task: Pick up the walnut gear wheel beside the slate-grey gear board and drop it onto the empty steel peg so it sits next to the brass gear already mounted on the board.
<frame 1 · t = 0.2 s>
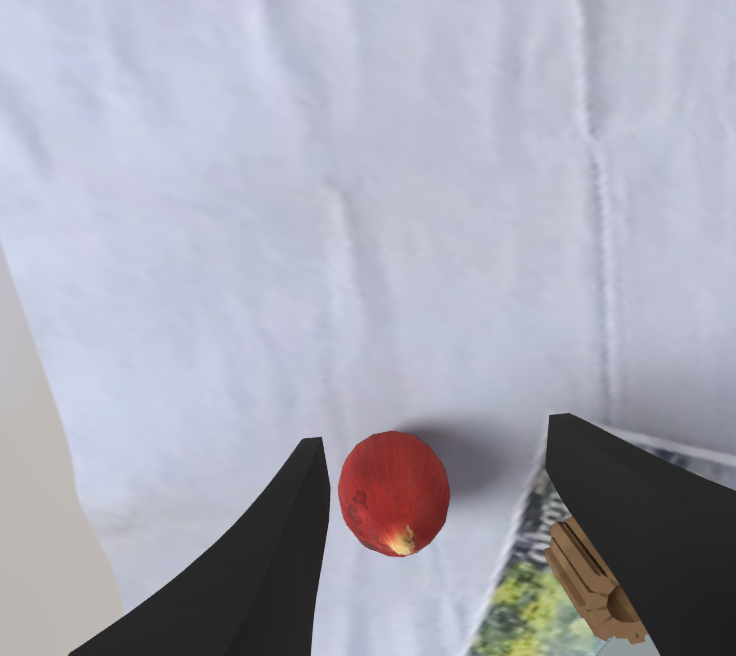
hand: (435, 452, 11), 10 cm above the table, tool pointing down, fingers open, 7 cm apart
onion: (388, 450, 22), on the table
walnut gear: (587, 545, 23), on the table
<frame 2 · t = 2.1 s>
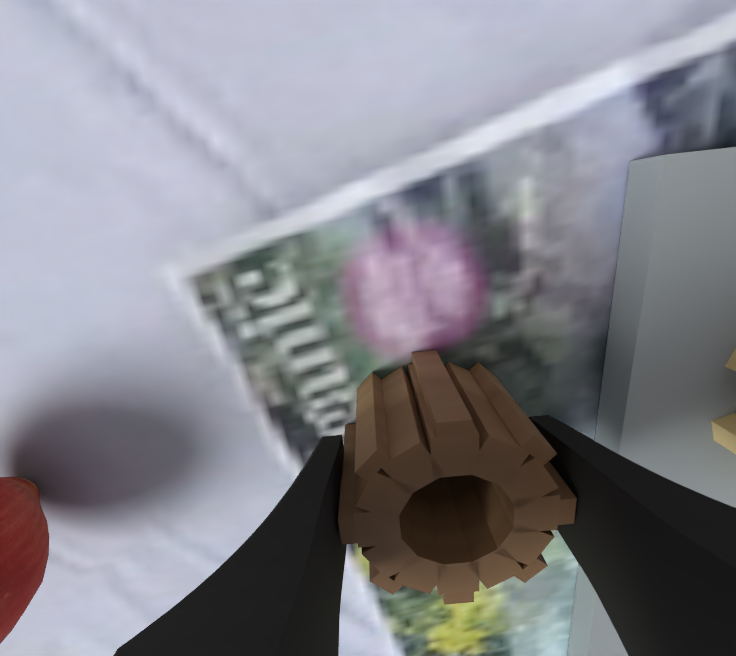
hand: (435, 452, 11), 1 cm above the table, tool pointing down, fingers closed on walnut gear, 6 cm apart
onion: (32, 483, 13), on the table
walnut gear: (428, 426, 12), on the table, touching gripper
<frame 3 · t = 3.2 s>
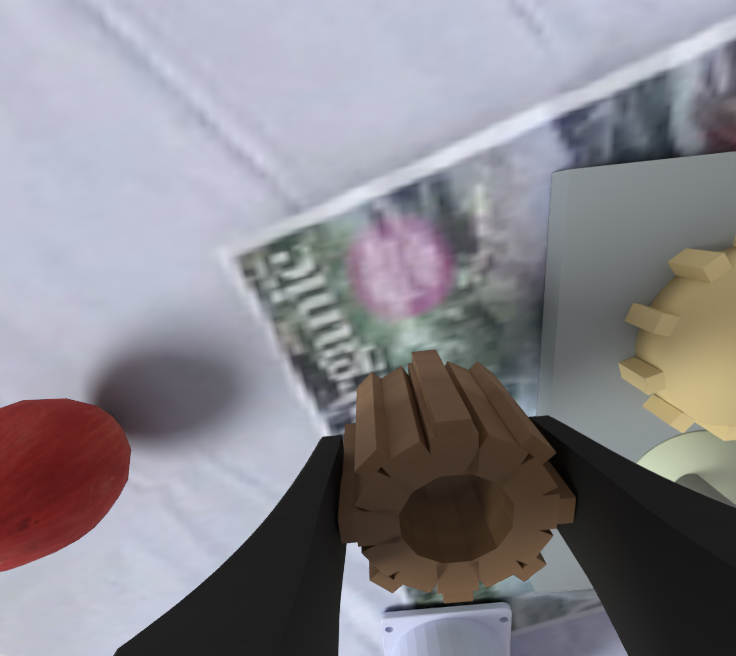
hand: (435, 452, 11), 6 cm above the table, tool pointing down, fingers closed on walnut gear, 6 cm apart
onion: (108, 417, 17), on the table
walnut gear: (427, 426, 12), point 4 cm above the table, touching gripper
gear board: (679, 400, 17), on the table
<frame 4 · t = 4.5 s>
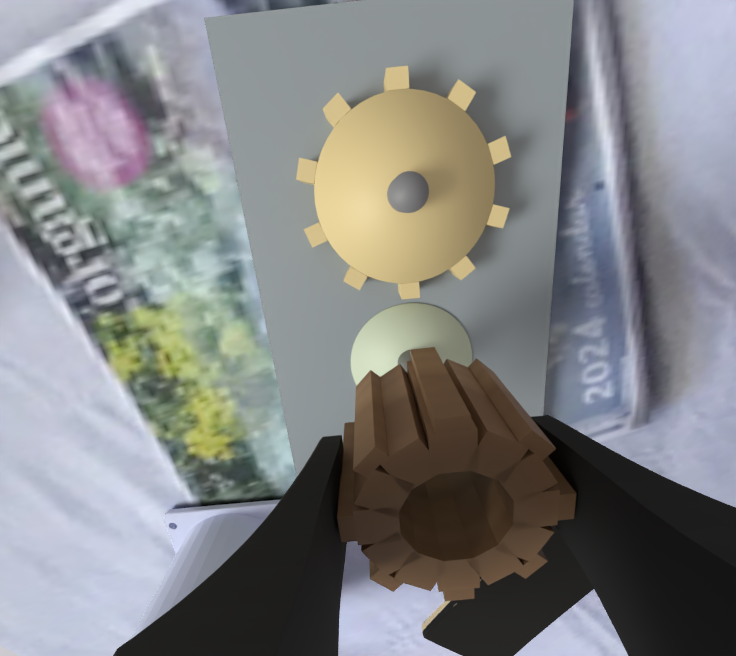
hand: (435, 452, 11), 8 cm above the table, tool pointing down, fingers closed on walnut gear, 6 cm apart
walnut gear: (427, 423, 12), point 7 cm above the table, touching gripper
gear board: (403, 280, 18), on the table
smartphone: (517, 578, 26), on the table
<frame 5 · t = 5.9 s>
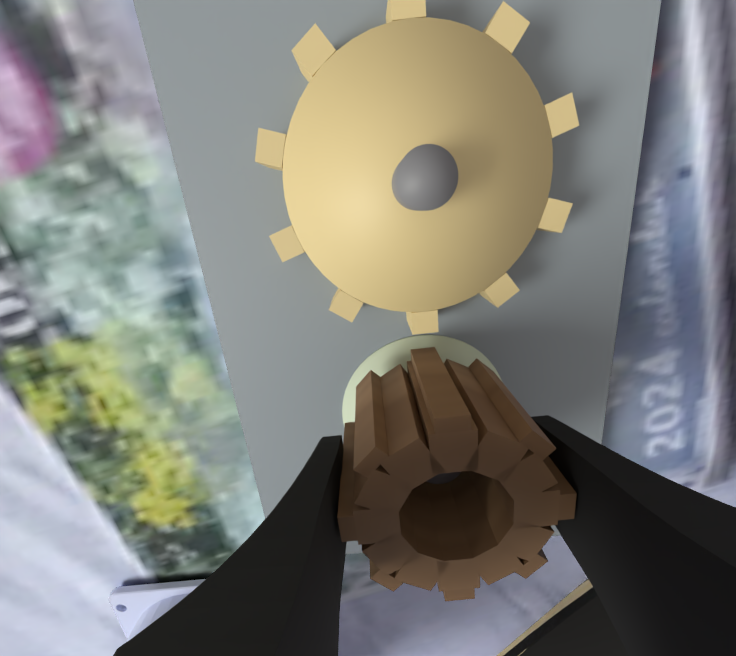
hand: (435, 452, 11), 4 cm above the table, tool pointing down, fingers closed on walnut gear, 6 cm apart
walnut gear: (427, 423, 12), point 2 cm above the table, touching gripper
gear board: (412, 301, 13), on the table
when the fingers open (4 cm above the table, at t = 6.7 s): walnut gear stays where it is, resting on gear board.
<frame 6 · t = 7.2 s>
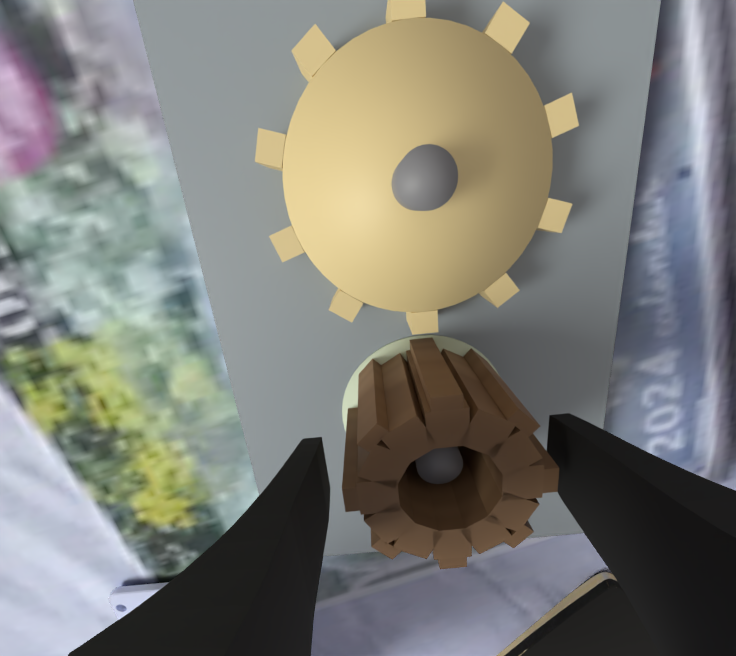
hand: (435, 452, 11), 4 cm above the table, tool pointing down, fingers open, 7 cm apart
walnut gear: (425, 409, 13), point 1 cm above the table, touching gear board
gear board: (412, 302, 13), on the table
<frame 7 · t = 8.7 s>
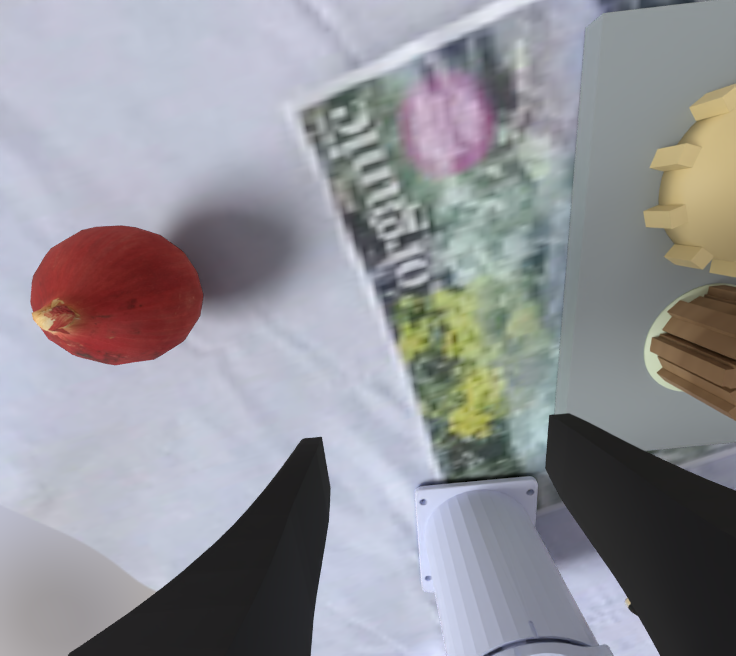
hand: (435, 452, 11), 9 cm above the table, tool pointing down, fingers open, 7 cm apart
onion: (173, 279, 19), on the table
walnut gear: (705, 338, 19), point 1 cm above the table, touching gear board
gear board: (696, 262, 19), on the table
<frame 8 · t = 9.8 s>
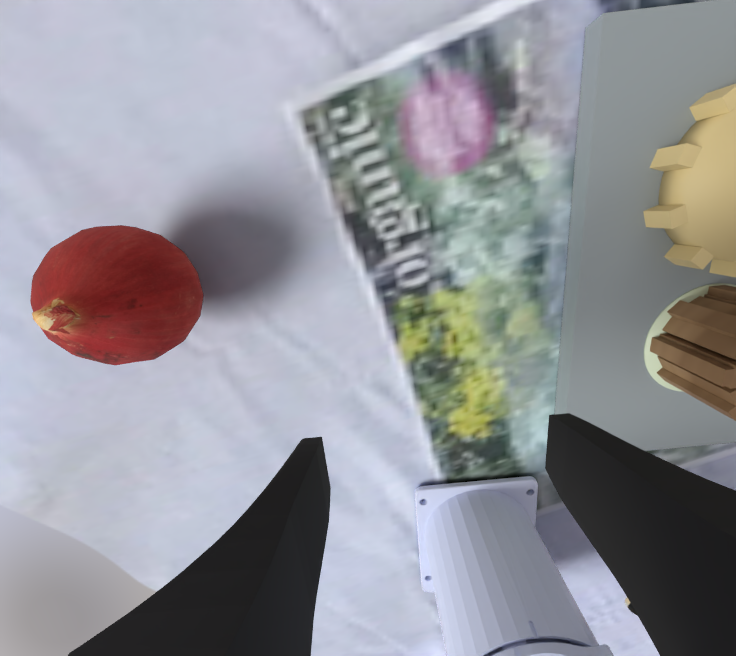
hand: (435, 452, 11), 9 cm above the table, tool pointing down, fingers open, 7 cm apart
onion: (173, 278, 19), on the table
walnut gear: (705, 338, 19), point 1 cm above the table, touching gear board
gear board: (696, 262, 19), on the table
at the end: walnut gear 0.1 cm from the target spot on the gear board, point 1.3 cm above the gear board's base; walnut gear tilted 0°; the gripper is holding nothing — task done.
